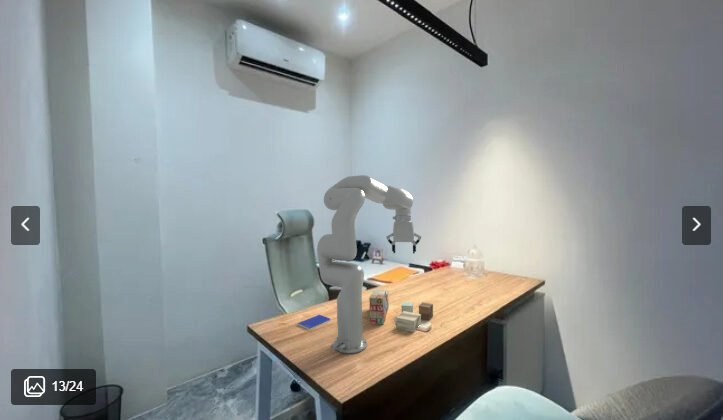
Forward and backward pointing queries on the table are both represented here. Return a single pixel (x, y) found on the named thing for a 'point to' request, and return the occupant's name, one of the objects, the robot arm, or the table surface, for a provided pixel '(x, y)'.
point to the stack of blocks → (378, 306)
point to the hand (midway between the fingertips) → (404, 253)
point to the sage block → (407, 306)
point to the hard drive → (314, 322)
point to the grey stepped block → (408, 321)
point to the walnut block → (426, 310)
